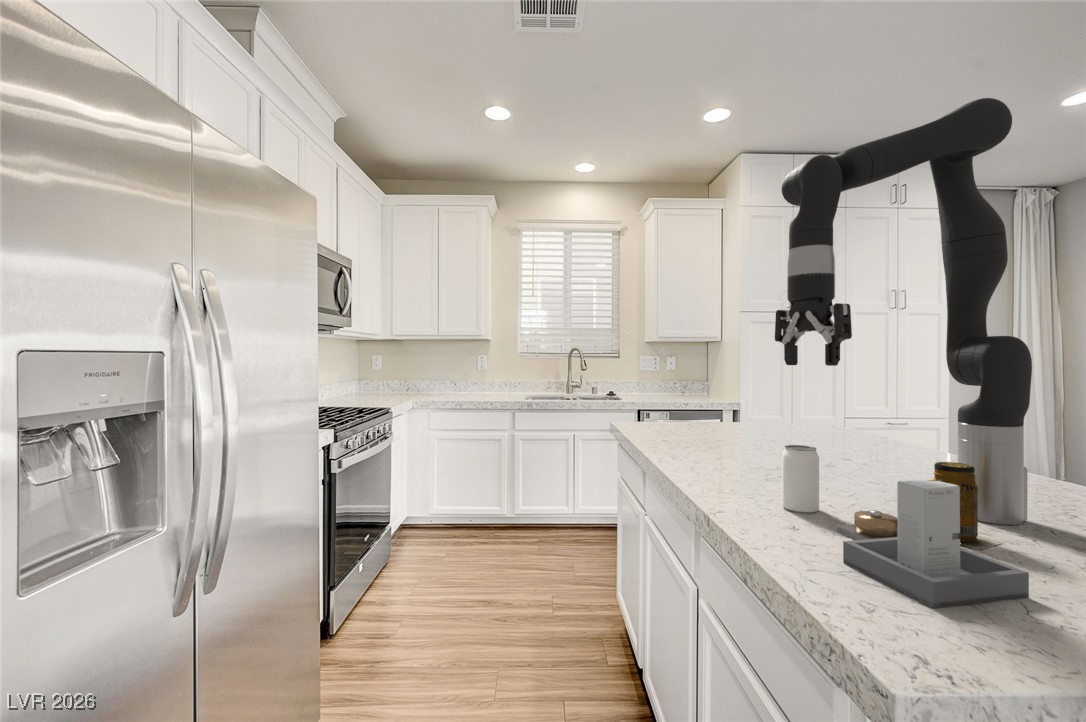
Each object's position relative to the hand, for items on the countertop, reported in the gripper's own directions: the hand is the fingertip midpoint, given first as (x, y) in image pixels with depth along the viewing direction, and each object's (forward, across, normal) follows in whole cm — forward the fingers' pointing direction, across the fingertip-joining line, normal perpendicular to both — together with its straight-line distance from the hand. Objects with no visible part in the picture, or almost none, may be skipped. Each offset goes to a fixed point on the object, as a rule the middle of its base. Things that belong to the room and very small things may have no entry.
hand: (810, 365), depth 93 cm
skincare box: (+28, -23, +5) cm, 36 cm away
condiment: (+28, -15, -16) cm, 36 cm away
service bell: (+28, -10, -3) cm, 30 cm away
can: (+28, +7, -5) cm, 30 cm away
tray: (+28, -24, +5) cm, 37 cm away
